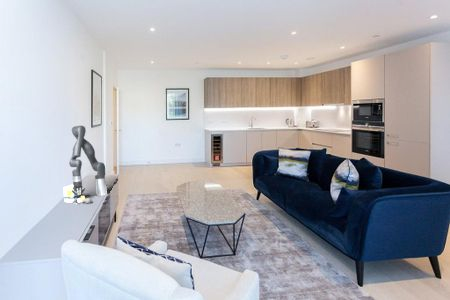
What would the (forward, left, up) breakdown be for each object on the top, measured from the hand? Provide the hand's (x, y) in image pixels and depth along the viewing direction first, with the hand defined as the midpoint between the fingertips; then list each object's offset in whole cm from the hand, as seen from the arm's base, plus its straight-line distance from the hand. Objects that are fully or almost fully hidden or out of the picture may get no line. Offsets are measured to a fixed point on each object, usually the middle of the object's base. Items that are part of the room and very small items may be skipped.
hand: (79, 198), depth 334 cm
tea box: (0, -12, -4) cm, 13 cm away
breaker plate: (-1, +4, -3) cm, 5 cm away
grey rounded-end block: (-3, +12, -3) cm, 13 cm away
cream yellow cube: (-3, 0, -1) cm, 4 cm away
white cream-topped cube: (+2, +7, -1) cm, 8 cm away
